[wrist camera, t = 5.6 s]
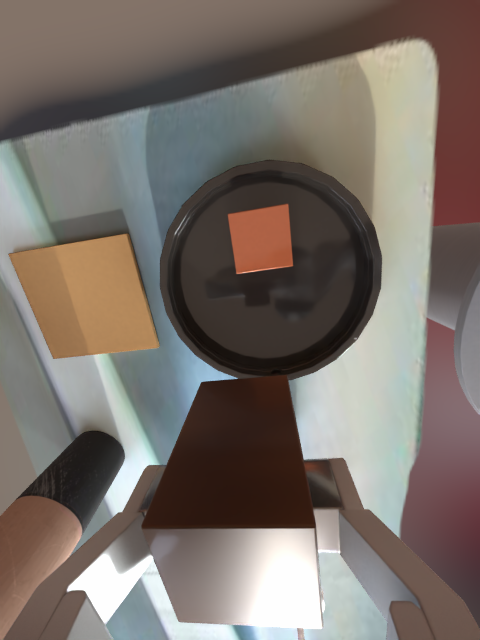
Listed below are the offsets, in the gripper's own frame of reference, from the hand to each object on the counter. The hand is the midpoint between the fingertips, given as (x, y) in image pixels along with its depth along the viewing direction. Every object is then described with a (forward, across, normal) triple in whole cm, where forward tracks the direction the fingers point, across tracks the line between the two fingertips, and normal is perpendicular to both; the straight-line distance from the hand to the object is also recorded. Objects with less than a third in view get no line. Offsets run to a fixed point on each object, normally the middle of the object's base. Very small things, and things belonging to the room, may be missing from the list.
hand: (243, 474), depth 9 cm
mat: (+17, +17, -4) cm, 25 cm away
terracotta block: (+17, -2, -8) cm, 19 cm away
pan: (+17, -2, -4) cm, 18 cm away
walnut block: (+3, 0, 0) cm, 3 cm away
